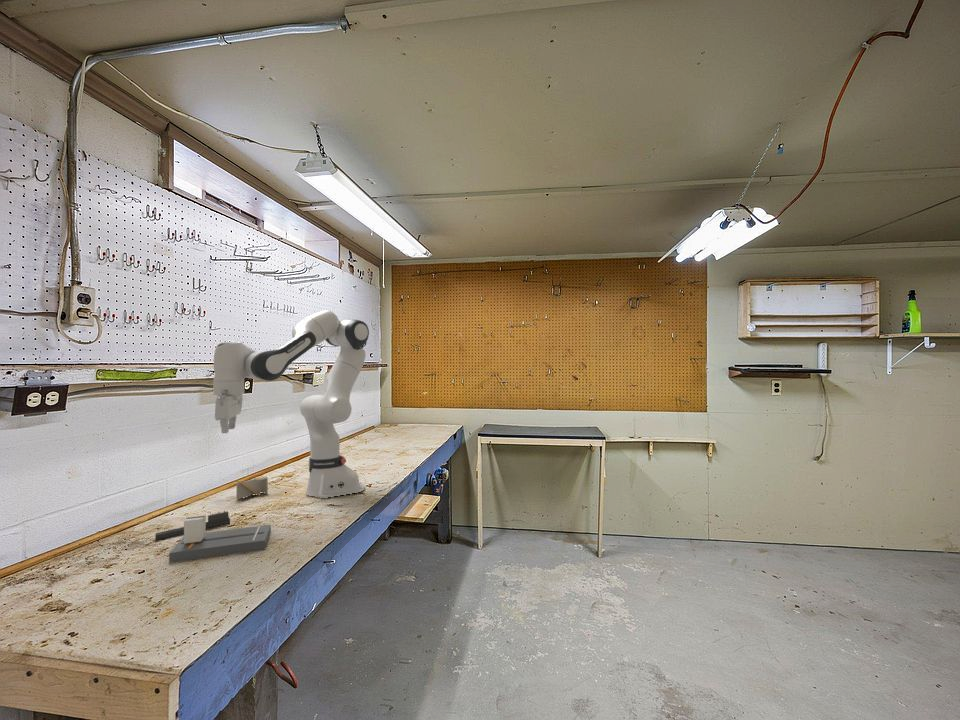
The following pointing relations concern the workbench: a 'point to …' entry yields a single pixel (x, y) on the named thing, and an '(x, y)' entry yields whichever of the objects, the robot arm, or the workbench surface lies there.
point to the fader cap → (194, 528)
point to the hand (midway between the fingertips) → (228, 430)
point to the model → (252, 487)
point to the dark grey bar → (212, 522)
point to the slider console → (222, 543)
